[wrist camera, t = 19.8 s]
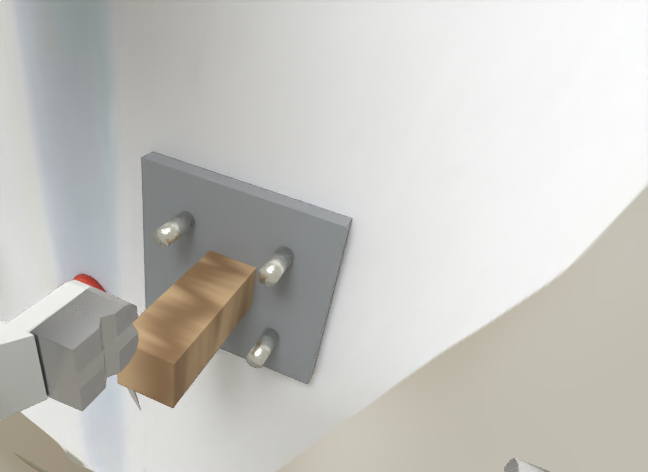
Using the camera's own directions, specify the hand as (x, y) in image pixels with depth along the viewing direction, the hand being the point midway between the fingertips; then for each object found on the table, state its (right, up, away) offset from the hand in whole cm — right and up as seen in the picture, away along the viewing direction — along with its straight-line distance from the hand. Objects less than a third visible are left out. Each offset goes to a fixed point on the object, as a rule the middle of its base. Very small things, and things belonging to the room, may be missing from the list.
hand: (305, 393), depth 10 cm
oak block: (-8, -1, +32) cm, 33 cm away
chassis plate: (-7, 0, +33) cm, 34 cm away
